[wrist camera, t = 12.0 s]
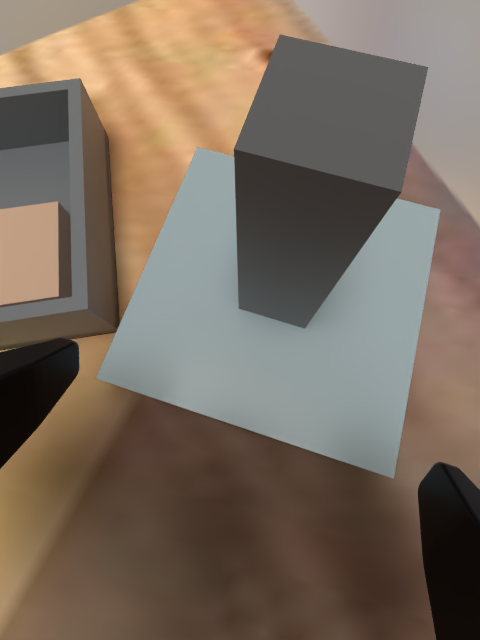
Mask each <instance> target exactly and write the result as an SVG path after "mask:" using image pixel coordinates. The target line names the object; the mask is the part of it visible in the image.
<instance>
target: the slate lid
mask: <svg viewBox="0 0 480 640" xmlns="http://www.w3.org/2000/svg"><path fill="white" fill-rule="evenodd" d="M427 70H428V67H425V66H420V65H416V64H411V63H406V62H402V61H397V60H392V59H388V58H383V57H379V56H374V55H370V54H365V53H360V52H356V51H352V50H347V49H343V48H338V47H334V46H329V45H325V44H320V43H316V42H311V41H307V40H302V39H297V38H293V37H288V36H284V35H279V38H278V40H277V43H276V45H275V48H274V50H273V53H272V55H271V58H270V60H269V63H268V65H267V68H266V70H265V73H264V75H263V78H262V80H261V83H260V85H259V88H258V90H257V93H256V95H255V98H254V100H253V103H252V105H251V108H250V110H249V113H248V115H247V118H246V120H245V123H244V125H243V128H242V130H241V133H240V135H239V138H238V140H237V143H236V145H235V148H234V156H230V155H226V154H223V153H219V152H215V151H211V150H207V149H203V148H199V147H197V149H196V152H195V154H194V156H193V158H192V161H191V163H190V165H189V168H188V170H187V172H186V174H185V177H184V179H183V181H182V184H181V186H180V188H179V190H178V193H177V195H176V197H175V199H174V202H173V204H172V206H171V209H170V211H169V213H168V215H167V218H166V220H165V222H164V225H163V227H162V229H161V231H160V234H159V236H158V238H157V241H156V243H155V245H154V247H153V250H152V252H151V254H150V256H149V259H148V261H147V263H146V266H145V268H144V270H143V272H142V275H141V277H140V279H139V282H138V284H137V286H136V288H135V291H134V293H133V295H132V297H131V300H130V302H129V304H128V307H127V309H126V311H125V313H124V316H123V318H122V320H121V323H120V325H119V327H118V329H117V332H116V334H115V336H114V338H113V341H112V343H111V345H110V348H109V350H108V352H107V354H106V357H105V359H104V361H103V364H102V366H101V368H100V370H99V373H98V375H97V377H96V379H99V380H102V381H105V382H108V383H110V384H113V385H116V386H119V387H122V388H125V389H128V390H131V391H134V392H137V393H140V394H143V395H146V396H149V397H152V398H155V399H158V400H161V401H164V402H167V403H170V404H173V405H176V406H179V407H182V408H185V409H188V410H191V411H194V412H197V413H200V414H203V415H206V416H209V417H212V418H214V419H217V420H220V421H223V422H226V423H229V424H232V425H235V426H238V427H241V428H244V429H247V430H250V431H253V432H256V433H259V434H262V435H265V436H268V437H271V438H274V439H277V440H280V441H283V442H286V443H289V444H292V445H295V446H298V447H301V448H304V449H307V450H310V451H313V452H316V453H318V454H321V455H324V456H327V457H330V458H333V459H336V460H339V461H342V462H345V463H348V464H351V465H354V466H357V467H360V468H363V469H366V470H369V471H372V472H375V473H378V474H381V475H384V476H387V477H390V478H393V479H394V475H395V469H396V463H397V457H398V452H399V446H400V440H401V434H402V428H403V423H404V417H405V411H406V405H407V400H408V394H409V388H410V382H411V376H412V371H413V365H414V359H415V353H416V347H417V342H418V336H419V330H420V324H421V319H422V313H423V307H424V301H425V295H426V290H427V284H428V278H429V272H430V266H431V261H432V255H433V249H434V243H435V237H436V232H437V226H438V220H439V214H440V210H439V209H435V208H431V207H428V206H424V205H420V204H416V203H412V202H408V201H404V200H400V199H397V197H398V196H399V195H400V193H401V191H402V186H403V182H404V177H405V173H406V168H407V163H408V159H409V154H410V149H411V145H412V140H413V135H414V130H415V126H416V121H417V116H418V112H419V107H420V103H421V98H422V93H423V89H424V84H425V79H426V75H427Z"/></svg>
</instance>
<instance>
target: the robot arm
mask: <svg viewBox="0 0 480 640" xmlns="http://www.w3.org/2000/svg"><path fill="white" fill-rule="evenodd" d="M78 371H79V346H78V344H77V343H76V342H75V341H72V340H69V339H66V338H57V339H53V340H49V341H45V342H41V343H37V344H33V345H29V346H24V347H20V348H16V349H12V350H8V351H4V352H0V469H1V467H2V466H3V465H4V464H5V463H6V462H7V461H8V460H9V459H10V458H11V456H12V455H13V454H14V453H15V452H16V451H17V450H18V449H19V448H20V447H21V446H22V444H23V443H24V442H25V441H26V440H27V439H28V438H29V437H30V436H31V435H32V433H33V432H34V431H35V430H36V429H37V428H38V427H39V425H40V424H41V423H42V422H43V420H44V419H45V418H46V417H47V415H48V414H49V413H50V411H51V410H52V408H53V407H54V406H55V404H56V403H57V402H58V400H59V399H60V398H61V396H62V395H63V394H64V392H65V391H66V390H67V388H68V387H69V386H70V384H71V383H72V382H73V380H74V379H75V378H76V376H77V374H78ZM418 501H419V515H420V529H421V542H422V555H423V564H424V570H425V577H426V583H427V588H428V594H429V600H430V605H431V611H432V617H433V622H434V628H435V634H436V640H480V490H479V489H478V488H477V487H476V486H475V485H474V484H473V483H472V482H471V481H470V479H469V478H468V477H467V476H466V475H465V474H464V473H463V472H462V471H461V470H460V469H459V468H457V467H455V466H452V465H449V464H446V463H443V462H437V463H435V464H434V466H433V467H432V468H431V469H430V471H429V472H428V473H427V475H426V476H425V477H424V479H423V480H422V481H421V483H420V485H419V488H418Z"/></svg>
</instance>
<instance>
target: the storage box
mask: <svg viewBox="0 0 480 640" xmlns="http://www.w3.org/2000/svg"><path fill="white" fill-rule="evenodd" d="M119 325H120V324H119V308H118V291H117V275H116V259H115V242H114V226H113V210H112V193H111V177H110V161H109V144H108V136H107V134H106V131H105V129H104V127H103V125H102V123H101V121H100V119H99V117H98V115H97V113H96V110H95V108H94V106H93V104H92V102H91V100H90V98H89V96H88V94H87V91H86V89H85V87H84V85H83V83H82V81H81V79H80V78H79V79H71V80H63V81H55V82H47V83H39V84H31V85H23V86H15V87H7V88H0V350H5V349H11V348H18V347H24V346H29V345H33V344H37V343H41V342H45V341H49V340H53V339H57V338H66V339H75V338H81V337H88V336H94V335H101V334H107V333H113V332H117V329H118V327H119Z"/></svg>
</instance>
